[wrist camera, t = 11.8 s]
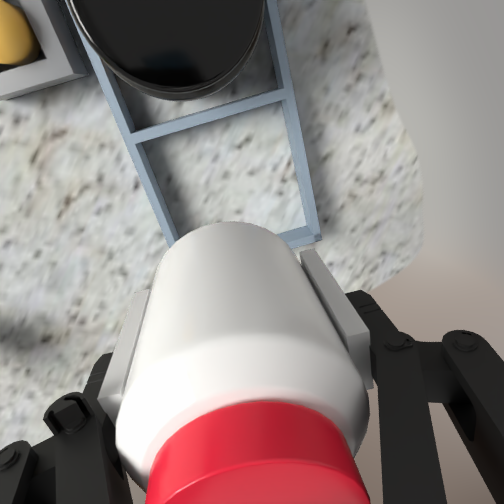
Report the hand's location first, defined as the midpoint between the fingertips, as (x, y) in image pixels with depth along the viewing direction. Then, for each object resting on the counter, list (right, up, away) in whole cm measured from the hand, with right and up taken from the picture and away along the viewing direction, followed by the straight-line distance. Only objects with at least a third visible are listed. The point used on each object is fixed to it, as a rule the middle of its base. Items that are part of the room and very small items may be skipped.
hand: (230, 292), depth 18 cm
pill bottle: (0, 0, 0) cm, 0 cm away
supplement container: (-4, +20, +9) cm, 23 cm away
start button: (-16, +18, +7) cm, 25 cm away
